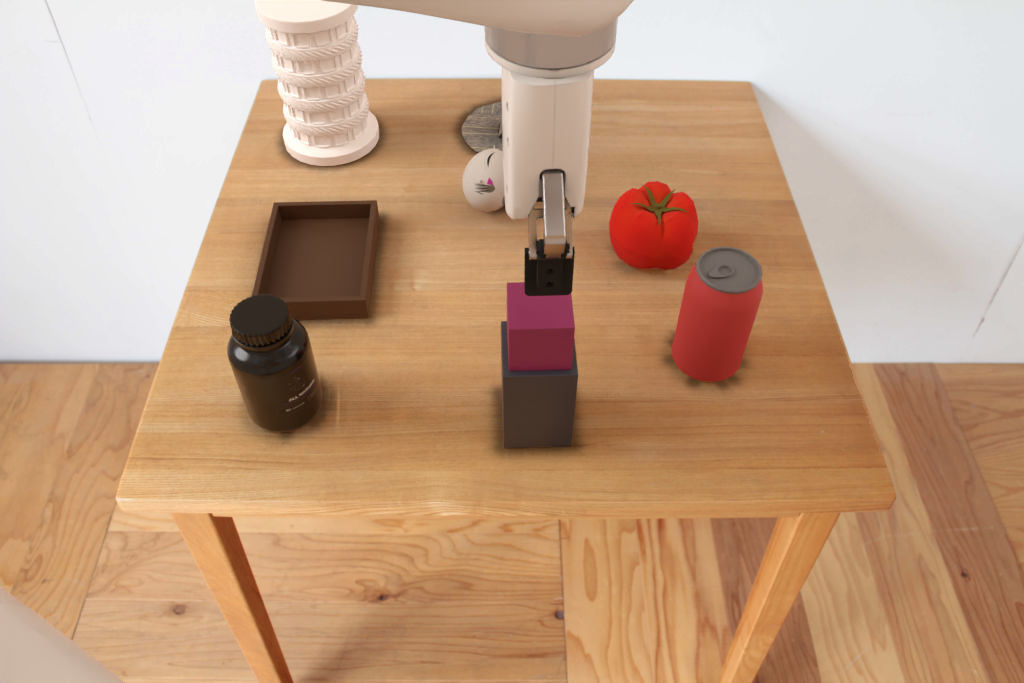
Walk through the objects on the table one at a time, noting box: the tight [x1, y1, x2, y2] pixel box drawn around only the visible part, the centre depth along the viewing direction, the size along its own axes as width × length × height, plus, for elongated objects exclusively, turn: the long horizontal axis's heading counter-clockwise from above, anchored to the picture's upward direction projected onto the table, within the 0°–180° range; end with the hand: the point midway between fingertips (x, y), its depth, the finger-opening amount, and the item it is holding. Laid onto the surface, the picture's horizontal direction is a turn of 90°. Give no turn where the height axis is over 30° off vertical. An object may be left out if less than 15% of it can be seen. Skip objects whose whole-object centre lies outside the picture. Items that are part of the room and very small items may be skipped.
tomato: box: [608, 180, 699, 271], centre depth 88 cm, size 9×9×8 cm
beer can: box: [671, 246, 764, 383], centre depth 77 cm, size 7×7×12 cm
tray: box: [251, 199, 380, 321], centre depth 89 cm, size 15×11×3 cm
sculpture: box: [461, 100, 503, 154], centre depth 106 cm, size 12×9×8 cm
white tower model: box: [253, 0, 380, 167], centre depth 98 cm, size 12×12×18 cm
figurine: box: [461, 145, 505, 213], centre depth 94 cm, size 8×6×7 cm
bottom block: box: [500, 320, 579, 449], centre depth 73 cm, size 6×6×10 cm
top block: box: [506, 281, 576, 371], centre depth 67 cm, size 5×5×5 cm
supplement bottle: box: [226, 294, 324, 433], centre depth 73 cm, size 7×7×12 cm
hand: (543, 243), depth 61 cm, fingers open, 9 cm apart
